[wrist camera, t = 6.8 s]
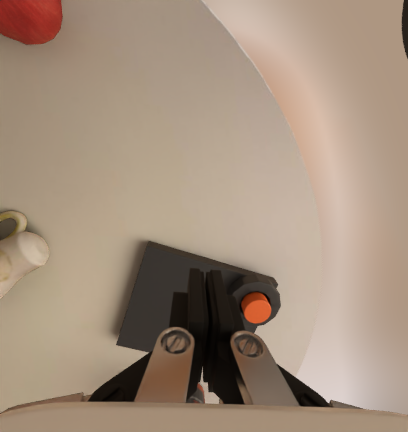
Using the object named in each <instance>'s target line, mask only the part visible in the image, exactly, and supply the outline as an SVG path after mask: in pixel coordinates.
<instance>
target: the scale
mask: <svg viewBox="0 0 408 432" xmlns="http://www.w3.org/2000/svg"><path fill="white" fill-rule="evenodd" d="M190 268H198V269H200V271H202V272H204V280H205V278H206V272H210V270H221V273H222V277H223V281H224V285H225V289H226V293H227V295H230V296H235V297H236V300H237V304H238V307H239V310H240V313H241V317H242V320H243V323H244V326H245V330H246V331H249V332H252V333H254V332H255V330H256V328H257V326H259V325H264V324H266V323H267V322H269V321H270V320H271V319H273V318H274V317H275V316H276V314H277V312H278V310H279V308H280V306H281V304H280V294H279V292H278V291H277V289H276V288H277V286H278V283H277V282H276V280H275V279H274V278H272V277H268V276H265V275H262V274H258V273H255V272H252V271H248V270H245V269H242V268H238V267H235V266H231V265H228V264H225V263H221V262H218V261H215V260H211V259H208V258H205V257H201V256H198V255H195V254H191V253H188V252H184V251H181V250H178V249H174V248H171V247H168V246H164V245H161V244H158V243H154V242H151V241H149V243H148V245H147V247H146V251H145V254H144V257H143V260H142V263H141V267H140V270H139V273H138V276H137V280H136V283H135V286H134V289H133V292H132V296H131V299H130V302H129V305H128V309H127V312H126V315H125V318H124V322H123V325H122V328H121V331H120V334H119V338H118V341H117V344H116V345H118V346H123V347H127V348H132V349H136V350H141V351H145V352H151V351H153V349H154V347H155V344H156V341H157V339H158V337H159V335H160V333H162V332H163V331H164V330H166V329H168V328H169V322H170V315H171V307H172V299H173V292H187V288H188V279H189V271H190ZM252 292H259V293H261V294H263V295H264V296H265V297H266V299H267V301H268V303H269V304H270V306H271V314H270V316H269V318H268V319H267V320H265V321H264V322H261V323H251V322H249V321H248V320H247V319H246V318H245V316H244V313H243V310H242V307H241V302H242V299H243V298H244V297H245V296H246V295H247V294H249V293H252Z"/></svg>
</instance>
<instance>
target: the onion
mask: <svg viewBox="0 0 408 432" xmlns="http://www.w3.org/2000/svg"><path fill="white" fill-rule="evenodd" d="M62 17H63V16H62V5H61V0H0V33H1V34H2V35H4V36H6V37H9V38H12V39H14V40H17V41H19V42H22V43H24V44H27V45H28V44H43V43H46V42H48V41H50V40H52V39H54V37H55V36H56V34H57V33H58V32H59V30H60V28H61V22H62Z"/></svg>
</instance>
